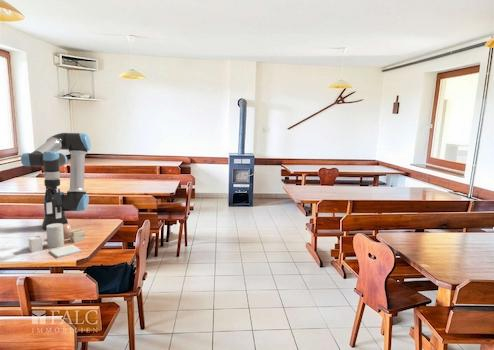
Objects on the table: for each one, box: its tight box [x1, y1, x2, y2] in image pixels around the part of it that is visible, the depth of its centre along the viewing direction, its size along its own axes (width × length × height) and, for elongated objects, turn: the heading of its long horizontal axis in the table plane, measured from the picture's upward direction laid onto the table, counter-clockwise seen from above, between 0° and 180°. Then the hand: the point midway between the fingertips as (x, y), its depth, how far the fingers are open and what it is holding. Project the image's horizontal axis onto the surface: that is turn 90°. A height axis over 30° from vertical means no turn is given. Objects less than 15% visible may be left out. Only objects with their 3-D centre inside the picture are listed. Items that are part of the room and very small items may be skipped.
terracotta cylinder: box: [63, 223, 72, 240], centre depth 196 cm, size 6×6×8 cm
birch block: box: [69, 228, 86, 244], centre depth 193 cm, size 6×6×6 cm
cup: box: [46, 223, 65, 249], centre depth 183 cm, size 8×8×12 cm
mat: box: [48, 244, 83, 259], centre depth 175 cm, size 12×12×1 cm
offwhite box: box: [28, 235, 44, 253], centre depth 176 cm, size 5×5×7 cm
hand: (54, 215), depth 181 cm, fingers open, 13 cm apart
